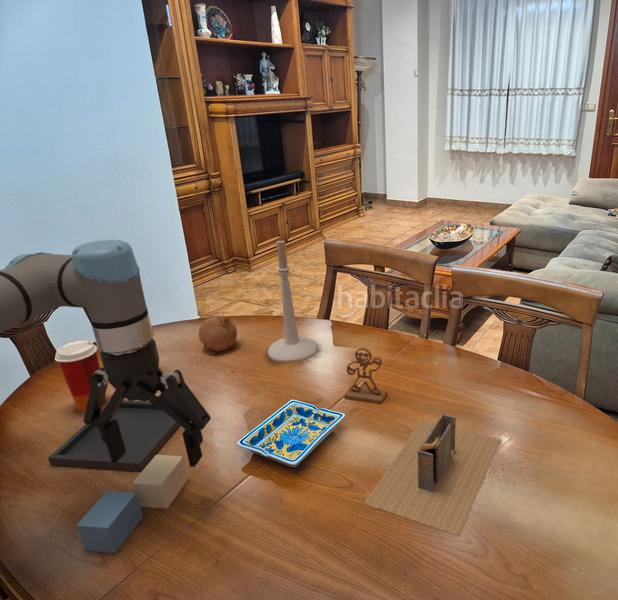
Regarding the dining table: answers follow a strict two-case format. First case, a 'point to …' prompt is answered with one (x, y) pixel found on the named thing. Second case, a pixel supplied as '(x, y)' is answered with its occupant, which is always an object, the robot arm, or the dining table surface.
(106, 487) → the dining table surface
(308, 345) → the candlestick
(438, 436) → the architectural model on board
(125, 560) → the dining table surface
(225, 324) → the onion
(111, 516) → the blue block
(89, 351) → the paper cup
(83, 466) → the tray
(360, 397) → the gingerbread man figurine
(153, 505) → the cream block
